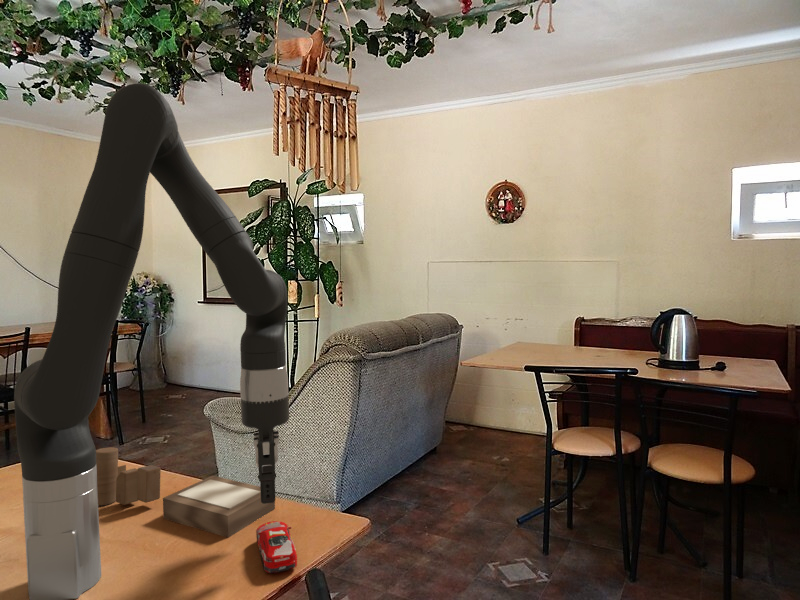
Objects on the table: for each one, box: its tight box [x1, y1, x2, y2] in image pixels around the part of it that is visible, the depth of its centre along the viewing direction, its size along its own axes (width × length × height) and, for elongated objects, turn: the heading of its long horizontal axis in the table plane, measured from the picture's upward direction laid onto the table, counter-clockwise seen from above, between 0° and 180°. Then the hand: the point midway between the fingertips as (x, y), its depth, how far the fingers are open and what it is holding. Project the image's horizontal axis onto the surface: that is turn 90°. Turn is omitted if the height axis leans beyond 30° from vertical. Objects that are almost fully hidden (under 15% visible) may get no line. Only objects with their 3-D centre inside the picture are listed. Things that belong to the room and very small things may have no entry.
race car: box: [255, 520, 298, 574], centre depth 88 cm, size 13×5×4 cm, turn 20°
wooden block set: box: [96, 446, 162, 506], centre depth 110 cm, size 18×9×10 cm, turn 57°
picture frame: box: [162, 475, 276, 538], centre depth 103 cm, size 16×12×4 cm
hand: (268, 491), depth 91 cm, fingers open, 8 cm apart
